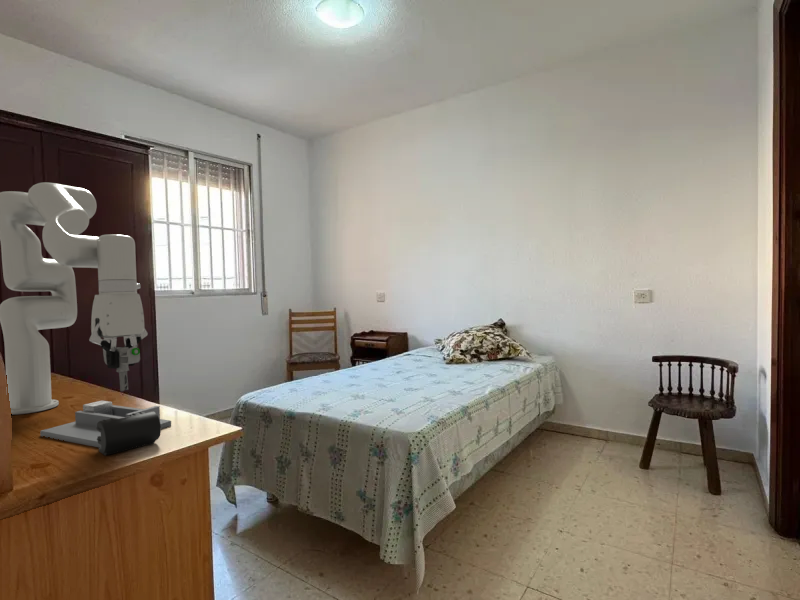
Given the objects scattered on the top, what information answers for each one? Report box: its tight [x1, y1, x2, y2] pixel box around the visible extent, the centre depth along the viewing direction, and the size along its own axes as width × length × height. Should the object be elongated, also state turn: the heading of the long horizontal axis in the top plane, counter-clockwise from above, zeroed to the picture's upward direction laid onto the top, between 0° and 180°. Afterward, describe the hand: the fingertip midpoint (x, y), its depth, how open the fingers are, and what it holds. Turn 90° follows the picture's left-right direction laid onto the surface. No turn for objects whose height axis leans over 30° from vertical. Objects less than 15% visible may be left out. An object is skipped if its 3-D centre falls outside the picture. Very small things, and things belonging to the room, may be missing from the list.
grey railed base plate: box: [39, 404, 172, 449], centre depth 102 cm, size 22×16×5 cm
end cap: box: [96, 411, 162, 456], centre depth 91 cm, size 10×7×7 cm
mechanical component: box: [102, 346, 141, 392], centre depth 103 cm, size 3×10×10 cm, turn 68°
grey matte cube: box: [82, 400, 113, 415], centre depth 107 cm, size 4×4×4 cm
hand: (121, 366), depth 103 cm, fingers closed on mechanical component, 3 cm apart
